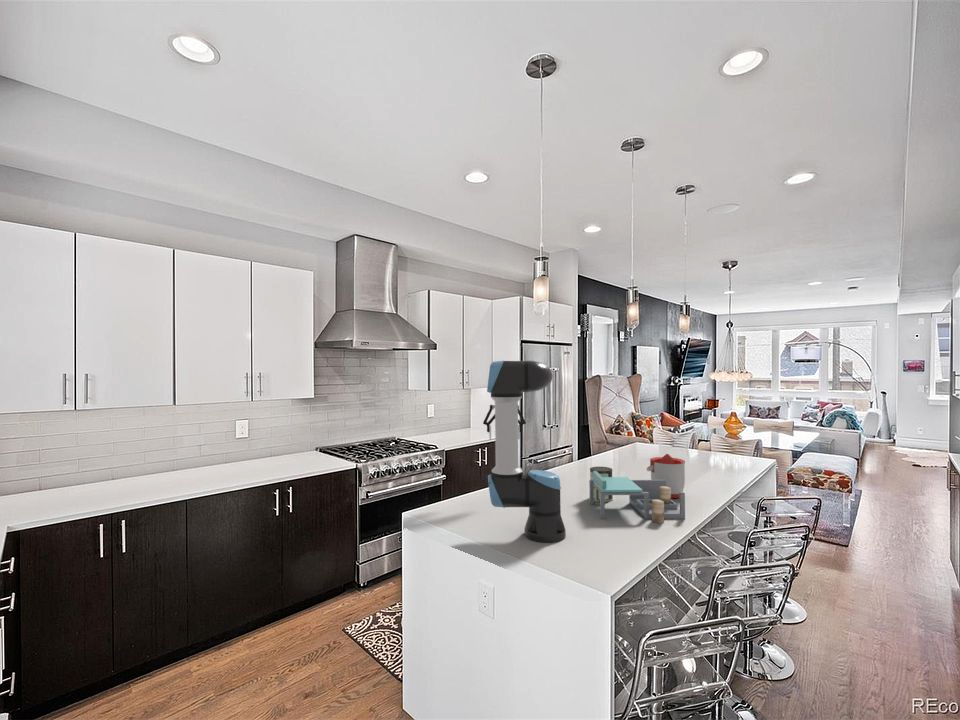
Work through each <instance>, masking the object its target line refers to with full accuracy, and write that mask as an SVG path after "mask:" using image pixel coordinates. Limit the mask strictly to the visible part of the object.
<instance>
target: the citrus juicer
mask: <svg viewBox="0 0 960 720" xmlns="http://www.w3.org/2000/svg"><path fill="white" fill-rule="evenodd" d="M649 462H650V465H649V466H647V467H646V471H647V472H650V480H666V487H670V488H671V499H680V492H684V488H685V483H686V479H685V478H686V475H685V474H686V473H685V471H686V470H685V469H686V468H685V467H686V466H685V465H686V460H684V459H681V458H678V457H677V458H676V457H672V456H671V455H670V454H669V453H665V454H664V455H663V456H659V457H658V456H657V457H652V458H650V459H649Z"/></svg>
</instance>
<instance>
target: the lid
mask: <svg viewBox="0 0 960 720" xmlns="http://www.w3.org/2000/svg"><path fill="white" fill-rule="evenodd" d="M592 480H593V482H594V483H595V484H596V485H597V486H598V487H599V488H600V489H601V490H602V492H643V490H642V489H641V488H640V487H639V486H637V485H636V484H635V483H634V482H632V481H631V480H632V479H630V478H629V477H628V476H612V477H602V476H601V475H600V474H599V473H598V472H597V471H593V477H592Z"/></svg>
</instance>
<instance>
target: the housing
mask: <svg viewBox="0 0 960 720" xmlns="http://www.w3.org/2000/svg"><path fill="white" fill-rule="evenodd" d="M630 480H631V481H632V482H634V483H635V484H636V485H637V486H639V487H640V488H641V489H642V490H643V492H600V502H599V512H600V515H599V518H600V520H605V519H606V517H605V516H606V513H605V512H606V510H605V509H606V507H605V505H606V503H605V495H613V496H628V497H629V498H628V499H629V500H628V501H629V504H630V505H631V506H632V507H633V508H634V509H635V510H636V511H637V512H638V513H639V514H640V515H641V516H642V517H643V518H644V519H646V520H652V500H660V490H659V487H661V486H665V487H666V480H651V479H630ZM588 483H589V486H588V487H589V488H588V489H589V491H588V492H589V504H590V505H594V502H595V501H594V489H593V483H594V482H593V480H590V479H589V482H588ZM679 519H681V520H682V519H683V520H685V519H686V493H685V491H683V492H680V497H679V508H678V503H676V501H675V502H674V501H673V500H672V499H671V504H664V520H679Z"/></svg>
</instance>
